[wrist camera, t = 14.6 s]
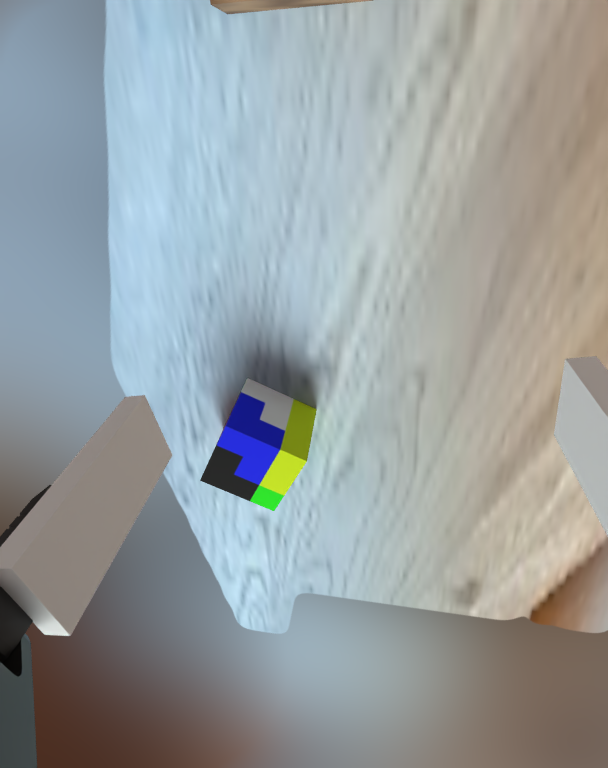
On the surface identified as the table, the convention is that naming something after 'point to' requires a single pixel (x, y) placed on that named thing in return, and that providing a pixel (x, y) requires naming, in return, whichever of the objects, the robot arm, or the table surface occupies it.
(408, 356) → the table surface
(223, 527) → the table surface
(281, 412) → the puzzle toy
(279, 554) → the table surface
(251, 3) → the walnut box
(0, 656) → the robot arm
